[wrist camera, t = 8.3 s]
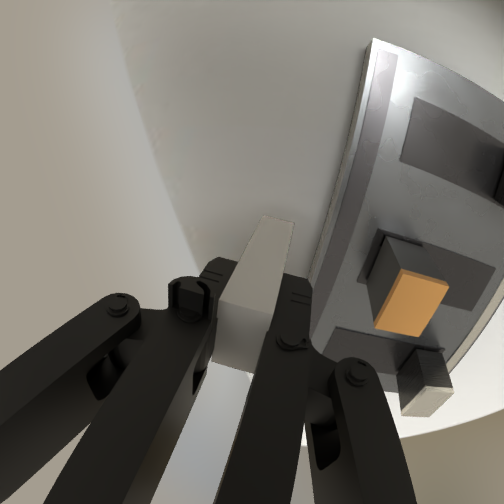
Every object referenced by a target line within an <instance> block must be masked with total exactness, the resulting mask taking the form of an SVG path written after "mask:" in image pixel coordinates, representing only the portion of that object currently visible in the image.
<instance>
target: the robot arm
mask: <svg viewBox="0 0 504 504" xmlns="http://www.w3.org/2000/svg"><path fill="white" fill-rule="evenodd" d="M293 227H294V223H292V222H288V221H285V220H281V219H277V218H273V217H269V216H264V215H263V216H262V218H261V220H260V222H259V224H258V226H257V228H256V230H255V231H254V233H253V235H252V237H251V239H250V241H249V243H248V245H247V247H246V249H245V251H244V252H243V254H242V256H241V258H240V260H239V262H236V261H232V260H229V259H225V258H221V257H217V258H215V259H213V260H212V261H210V262H209V263H208V264H207V265H206V267H205V268H204V270H203V271H202V273H201V274H200V275H199V277H193V276H186V277H179V278H177V279H174V280H172V281H171V282H170V283H169V284H168V308H167V309H164V310H154V309H142V308H140V305H139V302H138V300H137V299H135V297H133V296H131V295H129V294H125V293H115V294H110V295H108V296H106V297H104V298H102V299H101V300H99V301H98V302H96V303H95V304H93V305H92V306H90V307H89V308H87V309H86V310H84V311H83V312H81V313H80V314H78V315H77V316H75V317H74V318H72V319H71V320H70V321H68V322H67V323H65V324H64V325H62V326H61V327H59V328H58V329H57V330H55V331H54V332H52V333H51V334H49V335H48V336H47V337H45V338H44V339H43V340H41V341H40V342H39V343H37V344H36V345H34V346H33V347H31V348H30V349H29V350H27V351H26V352H24V353H23V354H22V355H20V356H19V357H18V358H16V359H15V360H14V361H12V362H11V363H10V364H8V365H7V366H6V367H4V368H3V369H2V370H0V503H2V502H3V501H5V500H6V499H7V498H9V497H10V496H11V495H12V494H13V493H14V492H15V491H16V490H17V489H19V488H20V487H21V486H22V485H23V484H24V483H25V482H26V481H27V480H29V479H30V478H31V477H32V476H33V475H34V474H35V473H36V472H37V471H38V470H40V469H41V468H42V467H43V466H44V465H45V464H46V463H47V462H48V461H50V460H51V459H52V458H53V457H54V456H55V455H56V454H57V453H58V452H59V451H60V450H62V449H63V448H64V447H65V446H66V445H67V444H68V443H69V442H70V441H71V440H72V439H73V438H75V437H76V436H77V435H78V433H80V432H81V431H82V430H83V429H84V428H85V427H86V426H87V425H89V424H90V425H89V427H88V428H87V430H86V431H85V433H84V435H83V436H82V438H81V439H80V442H79V443H78V444H77V446H76V448H75V449H74V451H73V453H72V454H71V456H70V458H69V459H68V461H67V463H66V464H65V466H64V468H63V470H62V471H61V473H60V475H59V477H58V478H57V480H56V482H55V484H54V485H53V487H52V489H51V490H50V492H49V494H48V496H47V498H46V499H45V501H44V503H43V504H150V503H151V500H152V498H153V496H154V493H155V491H156V489H157V487H158V484H159V482H160V480H161V478H162V475H163V473H164V471H165V468H166V466H167V464H168V461H169V459H170V457H171V455H172V452H173V450H174V448H175V445H176V443H177V441H178V439H179V436H180V434H181V432H182V429H183V427H184V425H185V423H186V420H187V418H188V416H189V413H190V411H191V408H192V406H193V404H194V402H195V399H196V397H197V394H198V392H199V390H200V388H201V385H202V383H203V381H204V378H205V376H206V373H207V365H208V362H209V360H210V358H211V356H212V360H211V361H212V362H215V363H218V364H222V365H225V366H228V367H232V368H235V369H239V370H242V371H246V372H249V373H253V374H254V376H253V379H252V382H251V386H250V389H249V392H248V395H247V398H246V402H245V406H244V409H243V412H242V415H241V419H240V422H239V425H238V429H237V432H236V435H235V439H234V441H233V445H232V448H231V451H230V454H229V457H228V460H227V463H226V466H225V469H224V472H223V475H222V478H221V481H220V484H219V487H218V490H217V493H216V496H215V499H214V502H213V504H290V501H291V497H292V492H293V487H294V481H295V476H296V471H297V465H298V459H299V453H300V447H301V440H302V433H303V427H304V424H305V431H306V439H307V446H308V453H309V461H310V469H311V477H312V485H313V493H314V502H315V504H417V502H416V497H415V494H414V489H413V485H412V481H411V477H410V474H409V470H408V467H407V463H406V459H405V456H404V452H403V449H402V446H401V442H400V439H399V436H398V433H397V429H396V426H395V423H394V420H393V417H392V414H391V411H390V408H389V405H388V402H387V399H386V396H385V393H384V391H383V388H382V385H381V382H380V379H379V377H378V374H377V372H376V371H375V369H374V367H372V366H371V365H370V364H369V363H368V362H366V361H364V360H362V359H360V358H355V357H348V358H343V359H342V360H341V361H339V362H338V363H337V362H335V361H333V360H331V359H329V358H327V357H325V356H324V355H322V354H320V353H319V352H318V351H317V350H316V349H315V348H314V347H313V345H312V342H311V339H310V337H309V331H310V320H311V305H312V293H313V288H312V286H311V284H310V282H309V280H308V279H305V278H301V277H297V276H293V275H289V274H285V273H283V272H284V268H285V263H286V259H287V254H288V250H289V246H290V241H291V237H292V232H293Z"/></svg>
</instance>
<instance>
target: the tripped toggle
mask: <svg viewBox="0 0 504 504" xmlns="http://www.w3.org/2000/svg"><path fill="white" fill-rule="evenodd" d="M366 286H367V290H368V295H369V300H370V305H371V311H372V316H373V322H374V328H376V329H380V330H385V331H390V332H395V333H400V334H405V335H410V336H415V337H419V336H420V334H421V333H422V331H423V330H424V328H425V327H426V325H427V324H428V322H429V320H430V319H431V317H432V316H433V314H434V312H435V311H436V309H437V307H438V306H439V304H440V302H441V301H442V299H443V297H444V295H445V294H446V292H447V290H448V288H449V285H448V284H447V282H446V280H445V279H444V277H443V275H442V274H441V272H440V270H439V269H438V267H437V265H436V264H435V262H434V261H433V259H432V258H431V256H430V254H429V253H428V251H427V250H426V248H423V247H420V246H417V245H414V244H411V243H408V242H405V241H402V240H398V239H395V238H392V237H389V236H386V237H385V239H384V242H383V244H382V247H381V249H380V252H379V254H378V257H377V259H376V261H375V264H374V266H373V269H372V271H371V273H370V276H369V278H368V280H367V282H366Z"/></svg>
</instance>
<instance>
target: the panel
mask: <svg viewBox="0 0 504 504" xmlns="http://www.w3.org/2000/svg"><path fill="white" fill-rule="evenodd" d="M386 236H389V237H392V238H395V239H398V240H402V241H405V242H408V243H411V244H414V245H417V246H420V247H423V248H426V250H427V251H428V253H429V254H430V256H431V258H432V259H433V261H434V262H435V264H436V265H437V267H438V269H439V270H440V272H441V274H442V275H443V277H444V279H445V280H446V282H447V284H448V285H449V288H448V290H447V292H446V294H445V295H444V297H443V299H442V301H441V302H440V304H439V306H438V307H437V309H436V311H435V312H434V314H433V316H432V317H431V319H430V320H429V322H428V324H427V325H426V327H425V328H424V330H423V331H422V333H421V334H420V336H419V337H415V336H410V335H405V334H400V333H395V332H390V331H385V330H380V329H376V328H374V322H373V316H372V311H371V305H370V300H369V295H368V290H367V286H366V282H367V280H368V278H369V276H370V273H371V271H372V269H373V266H374V264H375V261H376V259H377V257H378V254H379V252H380V249H381V247H382V244H383V242H384V239H385V237H386ZM308 280H309V282H310V284H311V286H312V288H313V293H312V305H311V320H310V331H309V337H310V339H311V342H312V345H313V347H314V348H315V349H316V350H317V351H318V352H319V353H320V354H322V355H324V356H325V357H327V358H329V359H331V360H333V361H335V362H337V363H338V362H339V361H341V360H342V359H343V358H348V357H355V358H360V359H362V360H364V361H366V362H368V363H369V364H370V365H371V366H372V367H374V369H375V371H376V372H377V374H378V377H379V379H380V382H381V385H382V388H383V391H386V392H395V393H399V400H400V408H401V416H412V417H430V416H431V415H432V414H433V413H434V412H435V411H436V410H437V409H438V408H439V407H440V406H441V405H442V404H444V403H445V402H446V401H447V400H448V399H449V398H450V397H451V396H452V395H453V394H454V390H453V386H452V383H451V379H450V376H449V374H450V372H451V371H452V370H453V369H454V368H455V367H456V365H457V364H458V363H459V362H460V360H461V359H462V358H463V357H464V355H465V354H466V353H467V352H468V350H469V349H470V348H471V346H472V345H473V344H474V342H475V341H476V340H477V338H478V337H479V336H480V334H481V333H482V331H483V330H484V328H485V327H486V325H487V324H488V323H489V321H490V320H491V318H492V316H493V315H494V313H495V312H496V310H497V309H498V307H499V305H500V304H501V302H502V300H503V299H504V102H503V101H502V100H500V99H499V98H497V97H496V96H494V95H493V94H491V93H490V92H488V91H486V90H485V89H483V88H482V87H480V86H478V85H477V84H475V83H473V82H472V81H470V80H468V79H466V78H465V77H463V76H461V75H459V74H457V73H456V72H454V71H452V70H450V69H448V68H446V67H444V66H442V65H440V64H438V63H436V62H434V61H431V60H429V59H427V58H425V57H423V56H420V55H418V54H416V53H413V52H411V51H408V50H406V49H403V48H401V47H398V46H395V45H393V44H390V43H387V42H384V41H381V40H378V39H375V38H373V39H372V40H371V42H370V43H369V44H368V46H367V48H366V53H365V59H364V64H363V70H362V75H361V80H360V85H359V90H358V95H357V99H356V104H355V109H354V113H353V118H352V122H351V126H350V131H349V135H348V139H347V143H346V147H345V151H344V155H343V159H342V163H341V167H340V171H339V175H338V178H337V182H336V186H335V189H334V193H333V197H332V200H331V204H330V207H329V211H328V214H327V218H326V221H325V224H324V228H323V231H322V234H321V238H320V241H319V244H318V247H317V251H316V254H315V257H314V260H313V263H312V266H311V269H310V272H309V276H308Z"/></svg>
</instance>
